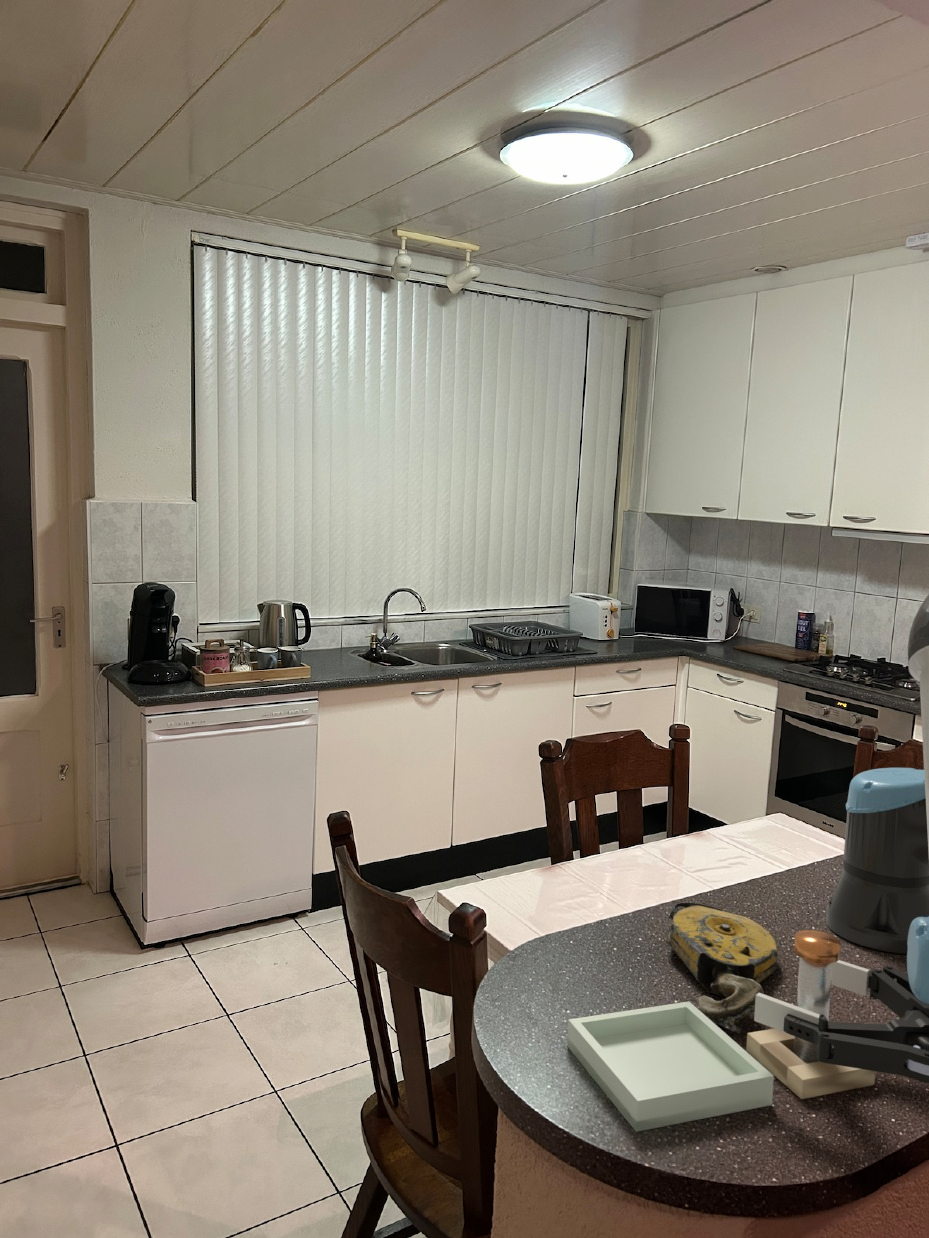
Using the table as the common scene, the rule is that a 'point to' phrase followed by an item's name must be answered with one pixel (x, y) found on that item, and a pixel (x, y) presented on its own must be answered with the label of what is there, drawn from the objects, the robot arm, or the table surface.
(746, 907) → the table surface
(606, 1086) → the pale green tray
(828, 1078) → the bracket
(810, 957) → the steel pin
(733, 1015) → the pulley block
